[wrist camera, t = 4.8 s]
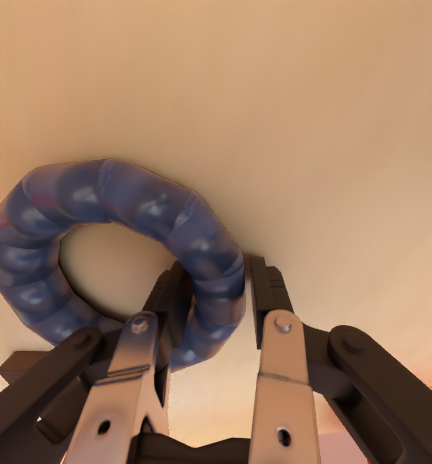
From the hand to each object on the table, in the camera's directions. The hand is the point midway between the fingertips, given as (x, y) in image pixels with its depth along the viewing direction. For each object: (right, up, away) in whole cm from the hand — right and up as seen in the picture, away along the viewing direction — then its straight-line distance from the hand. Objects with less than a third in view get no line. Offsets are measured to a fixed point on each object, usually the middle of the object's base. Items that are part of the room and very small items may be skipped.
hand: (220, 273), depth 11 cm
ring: (-5, -1, 0) cm, 5 cm away
